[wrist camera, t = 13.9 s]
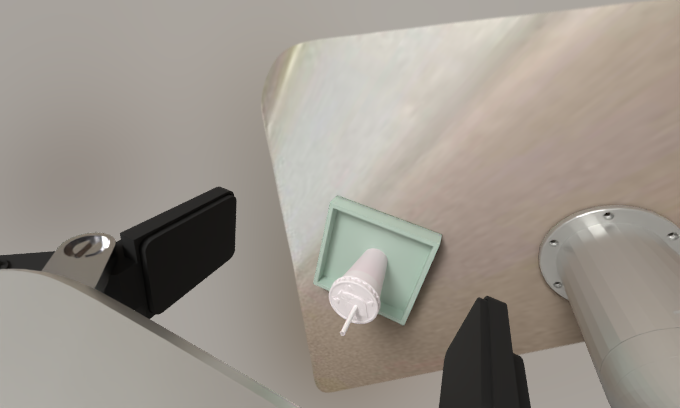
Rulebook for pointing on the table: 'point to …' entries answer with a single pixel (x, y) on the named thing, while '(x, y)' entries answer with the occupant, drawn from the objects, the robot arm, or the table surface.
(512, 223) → the table surface
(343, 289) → the smoothie
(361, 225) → the tray
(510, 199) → the table surface
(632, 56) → the table surface
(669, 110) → the table surface
